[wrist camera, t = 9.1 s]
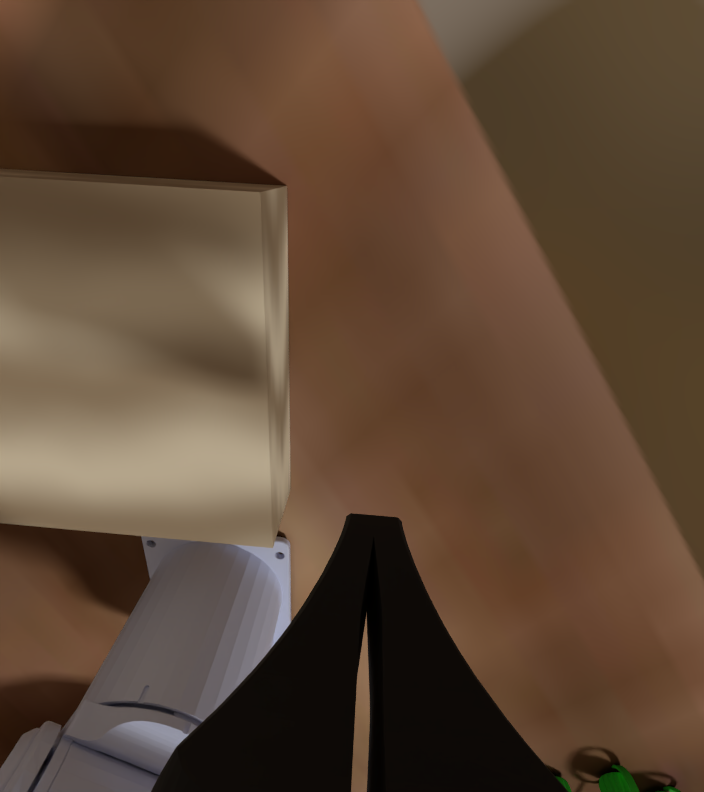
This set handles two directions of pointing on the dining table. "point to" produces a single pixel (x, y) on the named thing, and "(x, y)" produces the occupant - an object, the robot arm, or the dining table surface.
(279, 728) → the robot arm
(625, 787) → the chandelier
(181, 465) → the board
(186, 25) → the dining table surface
